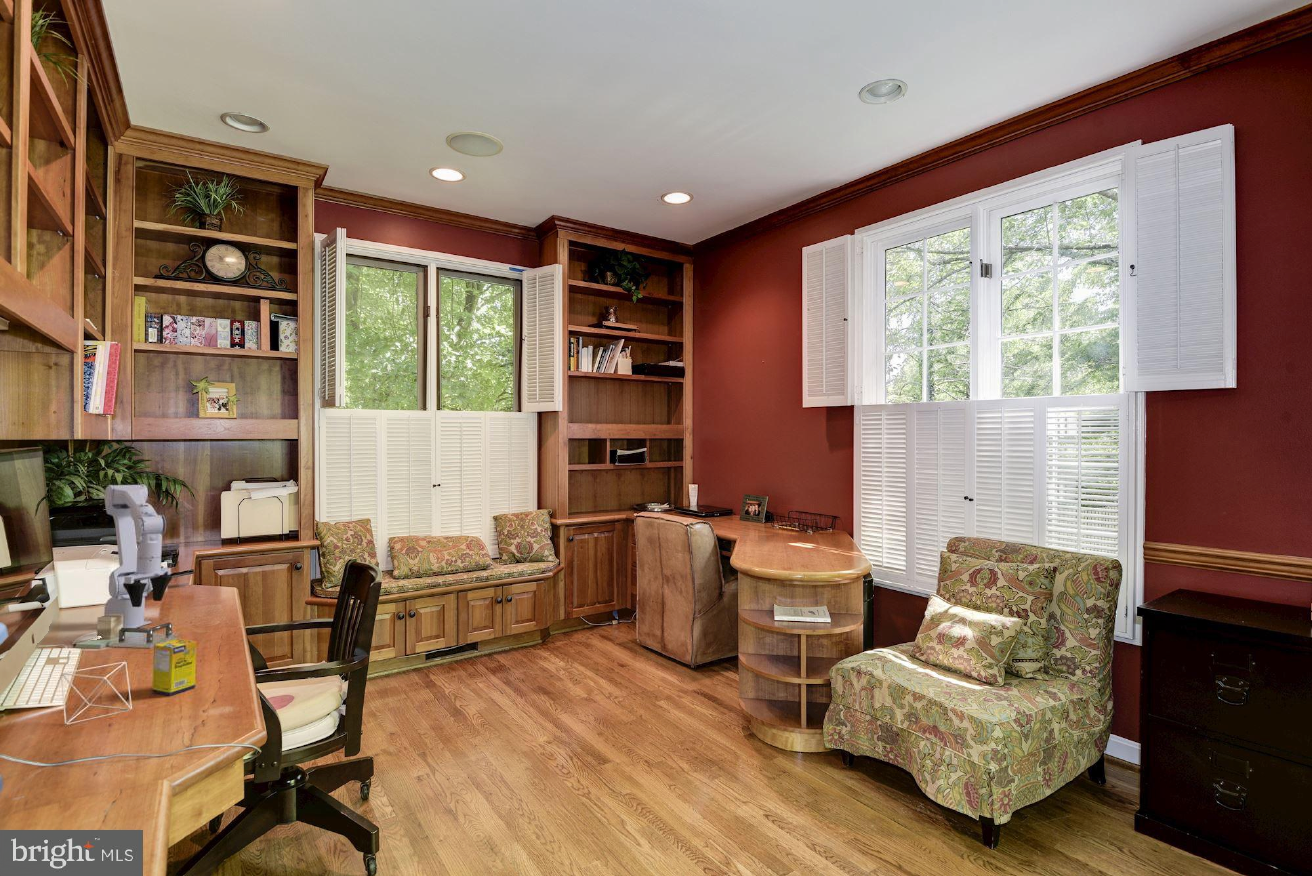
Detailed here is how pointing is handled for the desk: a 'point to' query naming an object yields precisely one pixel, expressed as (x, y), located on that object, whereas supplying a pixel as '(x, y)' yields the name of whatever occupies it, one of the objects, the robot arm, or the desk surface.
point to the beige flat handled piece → (144, 637)
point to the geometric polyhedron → (94, 690)
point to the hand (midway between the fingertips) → (147, 603)
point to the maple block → (109, 626)
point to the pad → (99, 642)
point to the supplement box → (174, 666)
